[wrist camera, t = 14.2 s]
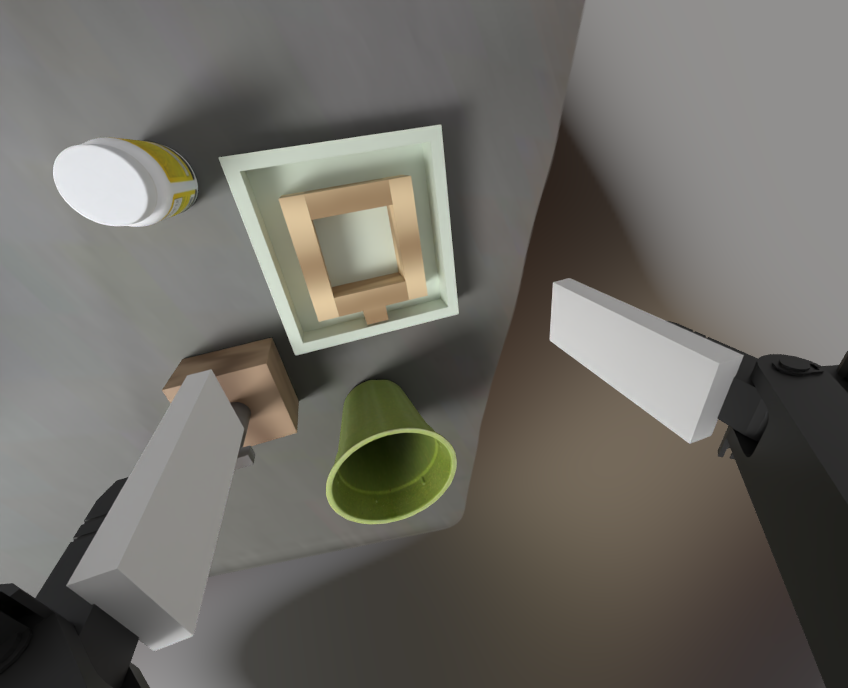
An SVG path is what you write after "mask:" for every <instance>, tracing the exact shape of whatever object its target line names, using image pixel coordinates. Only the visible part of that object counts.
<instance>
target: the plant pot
mask: <svg viewBox="0 0 848 688" xmlns="http://www.w3.org/2000/svg"><path fill="white" fill-rule="evenodd" d="M456 466H457V460H456V454H455V451H454V449H453V447H452V445H451V444H450V443H449V442H448V441H447V440H446V439H445V438H444V437H443V436H441V435H440V434H438V433H436V432H435V431H434V430H433V429H432V428H431V427H430V426H429V425H428V424H427V423H426V422H425V421H424V419H423V418H422V417H421V415H420V414H419V412H418V411H417V410H416V408H415V407H414V405H413V404H412V403H411V401H410V400H409V398H408V397H407V396H406V394H405V393H404V392H403V390H402V389H401V388H400V387H399V386H398V385H397V384H395V383H394V382H392V381H389V380H369V381H366V382H364V383H361V384H359V385H358V386H356V387H355V388H354V389H353V390H352V391H351V392H350V393H349V394H348V396H347V397H346V399H345V402H344V407H343V414H342V424H341V432H340V440H339V448H338V453H337V455H336V459H335V464H334V466H333V467H332V469H331V471H330V473H329V476H328V479H327V483H326V495H327V499H328V502H329V504H330V506H331V507H332V508H333V510H334V511H335V512H336V513H337V514H339V515H340V516H342V517H344V518H345V519H348V520H350V521H355V522H358V523H363V524H384V523H390V522H394V521H398V520H402V519H405V518H408V517H410V516H412V515H415V514H417V513H418V512H420V511H422V510H424V509H426V508H427V507H429V506H430V505H431V504H433V503H434V502H435V501H436V500H438V499H439V498H440V497H441V496H442V494H443V493H444V492H445V491H446V489H447V488H448V487H449V485H450V484H451V482H452V480H453V478H454V475H455V471H456Z"/></svg>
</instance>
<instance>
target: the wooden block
mask: <svg viewBox="0 0 848 688" xmlns="http://www.w3.org/2000/svg"><path fill="white" fill-rule="evenodd" d="M211 369H212V371H213V373H214V375H215V376H216V378H217V380H218V382H219V384H220V386H221V387H222V389H223V391H224V393H225V395H226V396H227V398H228V400H229V402H230V404H231V406H232V407H233V409H234V411H235V413H236V415H237V416H238V418H239V420H240V422H241V424H242V426H243V427H244V432H243V436H242V440H241V444H240V448H239V452H238V456H237V461H236V465H235V469H234V470H237V469H240V468H243V467H247V466H250V465H253V464H254V459H255V453H254V451H253V449H252V448H251V446H254V445H257V444H260V443H264V442H267V441H271V440H274V439H277V438H281V437H284V436H287V435H291V434H294V433H297V424H298V405H299V401H298V399H297V396H296V394H295V391H294V389H293V387H292V384H291V382H290V379H289V377H288V375H287V372H286V370H285V367H284V365H283V363H282V360H281V358H280V355H279V353H278V351H277V348H276V346H275V343H274V341H273V339H272V338H268V339H264V340H260V341H256V342H251V343H247V344H243V345H239V346H235V347H231V348H227V349H223V350H219V351H215V352H210V353H206V354H202V355H198V356H194V357H190V358H186V359H182V361H181V362H180V364H179V365H178V367H177V368H176V370H175V371H174V373H173V374H172V376H171V377H170V379H169V380H168V382H167V383H166V385H165V387H164V388H163V390H162V391H163V392H164V394H165V395H166V397H167V398H168V400H169V401H170V403H172V401H173V399H174V397H175V396H176V394H177V392H178V390H179V389H180V387H181V385H182V383H183V382H184V380H185V378H186V376H187V375H191V374H195V373H199V372H203V371H207V370H211Z"/></svg>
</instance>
